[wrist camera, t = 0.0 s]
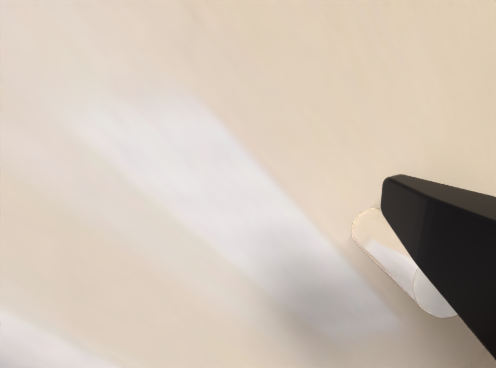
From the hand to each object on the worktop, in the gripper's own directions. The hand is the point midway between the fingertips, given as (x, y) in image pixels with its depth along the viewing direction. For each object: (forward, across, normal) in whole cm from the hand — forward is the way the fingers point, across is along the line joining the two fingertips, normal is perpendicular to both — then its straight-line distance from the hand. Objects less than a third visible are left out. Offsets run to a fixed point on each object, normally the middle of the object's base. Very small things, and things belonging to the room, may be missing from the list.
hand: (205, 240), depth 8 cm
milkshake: (+13, -13, +13) cm, 23 cm away
